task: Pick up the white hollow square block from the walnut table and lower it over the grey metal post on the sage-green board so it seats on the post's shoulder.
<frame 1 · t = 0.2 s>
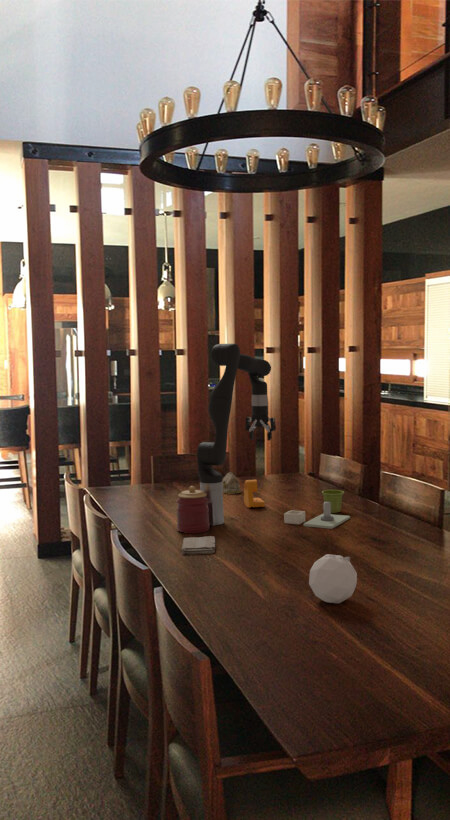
hand: (260, 440, 349), 29 cm above the table, tool pointing down, fingers open, 8 cm apart
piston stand: (327, 522, 309), on the table
plant pot: (333, 512, 328), on the table
bracket: (254, 506, 345), on the table
ceramic model: (231, 492, 382), on the table
canister: (193, 530, 302), on the table
washcloth: (198, 549, 275), on the table
geodesic sphere: (333, 601, 213), on the table
white hollow square block: (294, 522, 311), on the table
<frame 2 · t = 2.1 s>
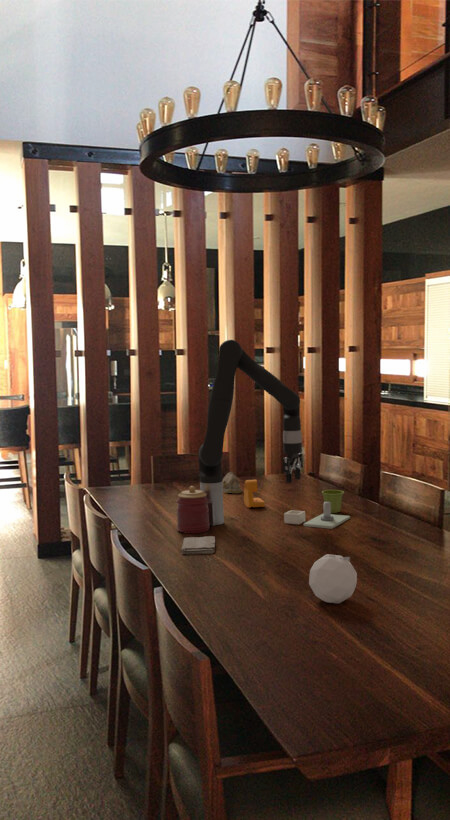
hand: (293, 481, 311), 17 cm above the table, tool pointing down, fingers open, 8 cm apart
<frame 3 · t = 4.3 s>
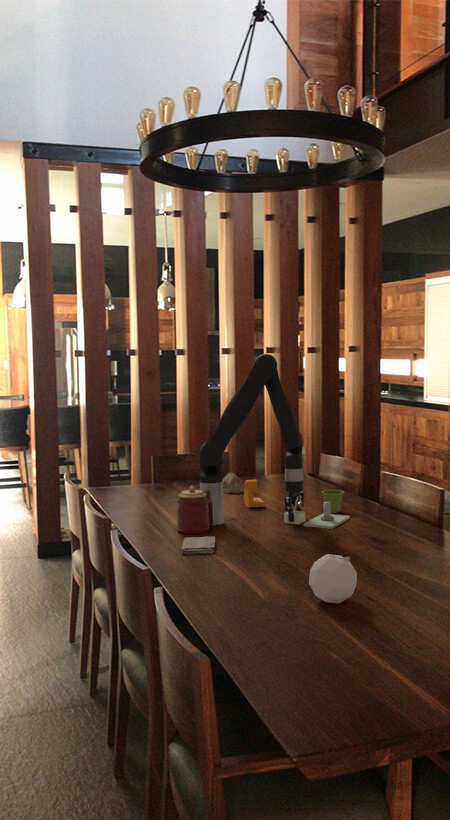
hand: (294, 519, 311), 1 cm above the table, tool pointing down, fingers closed on white hollow square block, 6 cm apart
white hollow square block: (294, 522, 311), on the table, touching gripper
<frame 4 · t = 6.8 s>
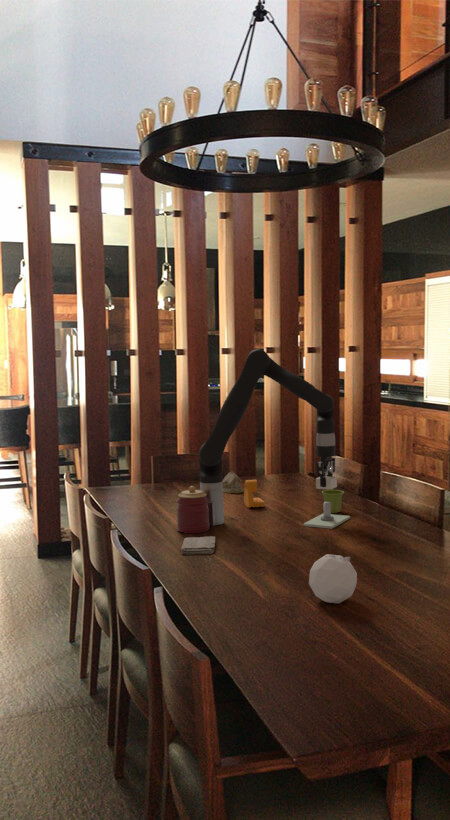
hand: (326, 485, 308), 15 cm above the table, tool pointing down, fingers closed on white hollow square block, 6 cm apart
white hollow square block: (326, 487, 308), point 14 cm above the table, touching gripper
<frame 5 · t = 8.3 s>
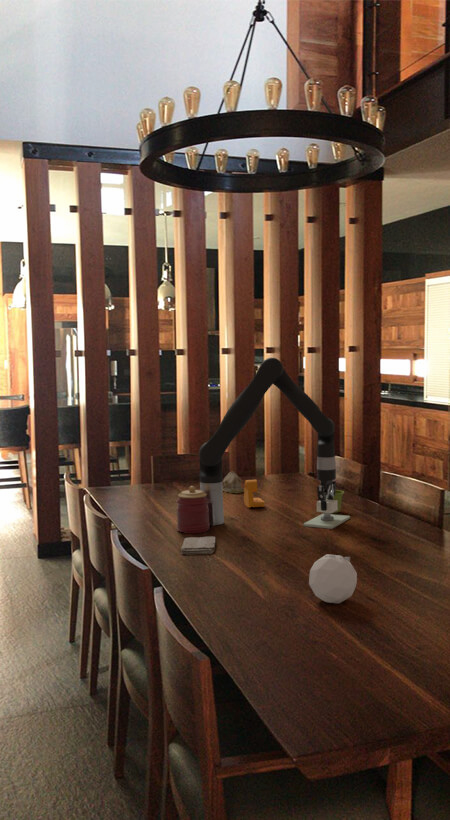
hand: (327, 508, 309), 6 cm above the table, tool pointing down, fingers closed on white hollow square block, 6 cm apart
white hollow square block: (327, 510, 309), point 5 cm above the table, touching gripper
when the fingers open (4 cm above the table, at t = 9.3 s): white hollow square block stays where it is, resting on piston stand.
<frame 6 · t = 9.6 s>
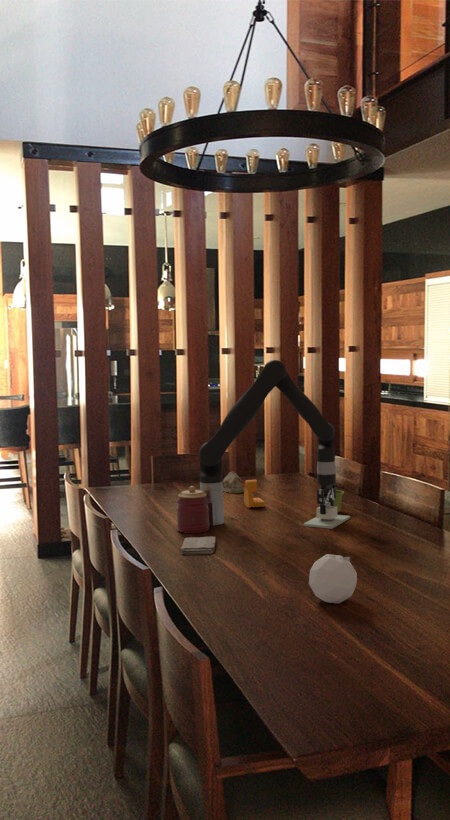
hand: (327, 512, 309), 4 cm above the table, tool pointing down, fingers open, 8 cm apart
white hollow square block: (327, 517, 309), point 2 cm above the table, touching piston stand
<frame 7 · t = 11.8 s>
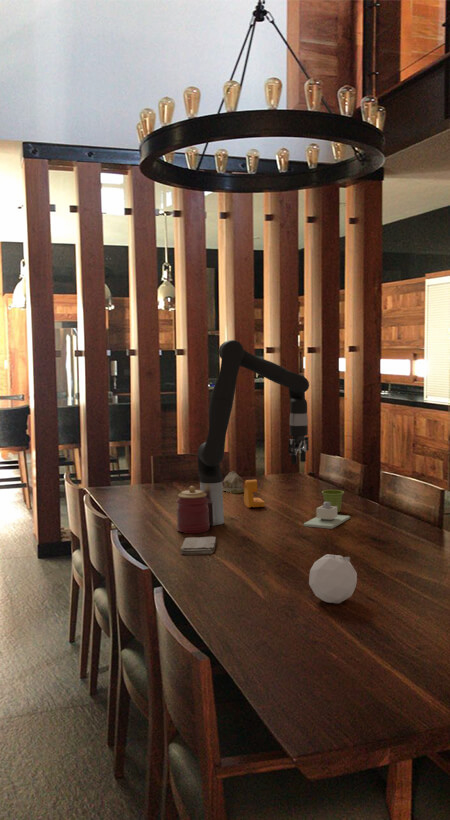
hand: (298, 462, 318), 23 cm above the table, tool pointing down, fingers open, 8 cm apart
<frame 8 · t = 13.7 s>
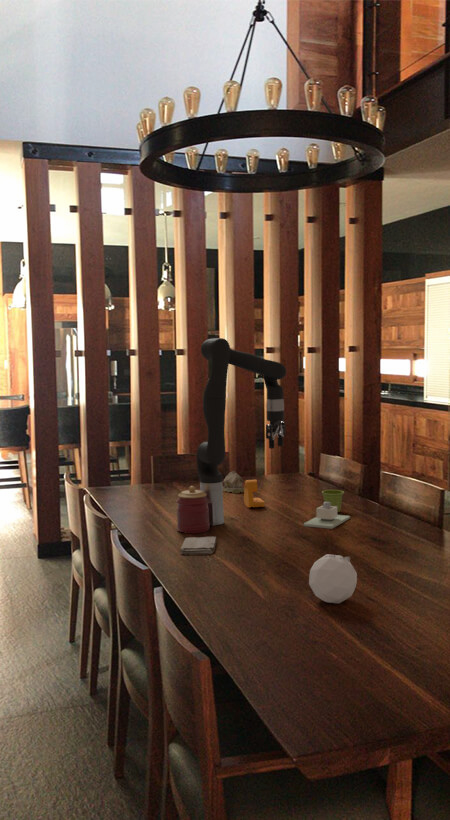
hand: (276, 447, 329), 28 cm above the table, tool pointing down, fingers open, 8 cm apart
at the end: white hollow square block 0.0 cm off-centre on the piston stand, point 2.0 cm above the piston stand's base; white hollow square block tilted 0°; the gripper is holding nothing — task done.
